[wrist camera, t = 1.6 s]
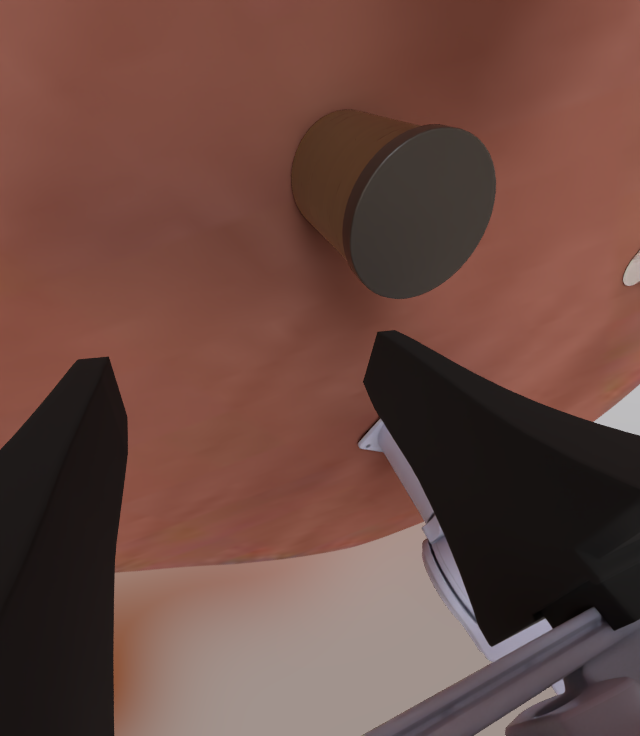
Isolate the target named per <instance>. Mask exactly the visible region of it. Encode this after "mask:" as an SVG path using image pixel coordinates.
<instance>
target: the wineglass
mask: <svg viewBox="0 0 640 736" xmlns="http://www.w3.org/2000/svg"><path fill="white" fill-rule="evenodd" d="M623 282H624V284H625V285H628V286H631V285H635V284H637V283H639V282H640V251H639V252H638V253H637V254H636V256H635V257H634V258H633V259H632V261H631V262H630V264H629V265H628V267H627V269H626V271H625V274H624V278H623Z"/></svg>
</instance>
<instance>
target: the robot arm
mask: <svg viewBox="0 0 640 736" xmlns="http://www.w3.org/2000/svg"><path fill="white" fill-rule="evenodd" d="M363 383H364V385H365V388H366V390H367V392H368V395H369V397H370V399H371V401H372V404H373V406H374V408H375V410H376V412H377V413H378V415H379V417H380V419H379V420H378V421H377V423H376V424H375V425H374V426H373V427H372V428H371V429H370V430H369V431H368V433H367V434H366V435H365V436H364V437H363V438H362V439H361V440H360V441H359V443H358V446H359V448H360V449H366V450H373V451H379V452H384V454H385V456H386V457H387V459H388V461H389V462H390V464H391V466H392V467H393V469H394V471H395V472H396V474H397V476H398V478H399V479H400V481H401V483H402V484H403V486H404V488H405V489H406V491H407V493H408V494H409V496H410V498H411V499H412V501H413V503H414V504H415V506H416V508H417V509H418V511H419V513H420V515H421V516H422V518H423V520H424V521H425V523H426V525H425V526H423V527H422V530H423V531H424V533H425V535H426V536H427V539H425V540H424V541H423V543H422V549H423V550H422V558H423V562H424V566H425V568H426V571H427V573H428V575H429V577H430V580H431V581H432V583H433V585H434V587H435V589H436V591H437V592H438V594H439V596H440V597H441V599H442V600H443V602H444V603H445V605H446V606H447V608H448V609H449V610H450V611H451V613H452V614H453V615H454V616H455V618H456V619H457V620H458V621H459V622H460V623H461V624H462V625H463V627H464V628H465V630H466V631H467V633H468V634H469V636H470V637H471V639H472V640H473V642H474V643H475V645H476V646H477V648H478V649H479V651H481V652H482V653H484V655H485V657H486V658H487V659H488V660H489V661H491V662H493V663H491V664H489V665H487V666H485V667H484V668H482V669H480V670H478V671H476V672H475V673H473V674H471V675H469V676H468V677H466V678H464V679H462V680H460V681H459V682H457V683H455V684H453V685H451V686H450V687H448V688H446V689H444V690H442V691H441V692H439V693H437V694H435V695H434V696H432V697H430V698H428V699H426V700H424V701H423V702H421V703H419V704H417V705H415V706H414V707H412V708H410V709H408V710H406V711H405V712H403V713H401V714H399V715H397V716H396V717H394V718H392V719H390V720H389V721H387V722H385V723H383V724H382V725H380V726H378V727H376V728H374V729H372V730H371V731H369V732H367V733H365V734H363V735H362V736H474V735H475V734H477V733H478V732H480V731H481V730H483V729H485V728H486V727H488V726H489V725H491V724H492V723H494V722H495V721H497V720H499V719H500V718H502V717H503V716H505V715H506V714H508V713H509V712H511V711H513V710H514V709H516V708H517V707H519V706H521V705H522V704H524V703H525V702H527V701H528V700H530V699H531V698H533V697H535V696H536V695H538V694H539V693H541V692H542V691H544V690H546V689H547V688H549V687H550V686H552V688H553V689H554V691H555V692H556V694H557V696H554V697H552V698H549V699H547V700H544V701H542V702H539V703H537V704H535V705H533V706H531V707H529V708H528V709H526V710H524V711H523V712H522V713H521V714H519V715H518V716H517V717H516V718H515V719H514V720H513V721H512V722H511V723H510V724H509V725H508V726H507V727H506V731H505V735H506V736H640V436H639V435H635V434H631V433H628V432H624V431H621V430H617V429H614V428H611V427H607V426H604V425H600V424H597V423H594V422H591V421H588V420H585V419H582V418H579V417H576V416H573V415H570V414H567V413H565V412H562V411H559V410H556V409H553V408H551V407H548V406H545V405H543V404H540V403H538V402H535V401H533V400H531V399H528V398H526V397H524V396H521V395H519V394H517V393H514V392H512V391H510V390H507V389H505V388H503V387H501V386H499V385H497V384H495V383H493V382H491V381H489V380H487V379H485V378H483V377H481V376H479V375H477V374H475V373H473V372H471V371H469V370H467V369H466V368H464V367H462V366H460V365H458V364H456V363H455V362H453V361H451V360H449V359H447V358H446V357H444V356H442V355H440V354H439V353H437V352H435V351H433V350H432V349H430V348H428V347H426V346H424V345H423V344H421V343H419V342H417V341H415V340H414V339H412V338H410V337H408V336H406V335H404V334H402V333H400V332H397V331H395V330H392V331H381V332H377V336H376V339H375V343H374V346H373V349H372V353H371V356H370V360H369V363H368V367H367V370H366V374H365V377H364V381H363ZM127 456H128V427H127V414H126V411H125V408H124V405H123V401H122V398H121V395H120V392H119V388H118V385H117V382H116V379H115V376H114V372H113V369H112V366H111V363H110V359H109V357H100V358H89V359H79V360H77V361H76V362H75V363H74V364H73V366H72V367H71V368H70V369H69V370H68V372H67V373H66V374H65V375H64V377H63V378H62V379H61V380H60V382H59V383H58V384H57V385H56V387H55V388H54V389H53V390H52V392H51V393H50V394H49V395H48V396H47V398H46V399H45V400H44V401H43V402H42V404H41V405H40V406H39V407H38V408H37V409H36V411H35V412H34V413H33V414H32V415H31V416H30V418H29V419H28V420H27V421H26V422H25V423H24V424H23V426H22V427H21V428H20V429H19V430H18V431H17V432H16V434H15V435H14V436H13V437H12V438H11V439H10V440H9V441H8V442H7V443H6V444H5V445H4V446H3V447H2V448H1V450H0V736H114V701H113V700H114V691H113V690H114V689H113V686H114V685H113V632H114V631H113V627H114V572H115V554H116V542H117V534H118V527H119V519H120V511H121V504H122V496H123V488H124V480H125V472H126V464H127Z"/></svg>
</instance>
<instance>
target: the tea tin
mask: <svg viewBox="0 0 640 736" xmlns="http://www.w3.org/2000/svg"><path fill="white" fill-rule="evenodd" d="M291 181H292V191H293V195H294V199H295V202H296V204H297V207H298V208H299V210H300V212H301V213H302V215H303V216H304V217H305V218H306V219H307V220H308V222H309V223H310V224H311V225H312V226H313V227H314V228H315V229H316V230H317V231H318V232H319V233H320V234H321V235H322V236H323V237H324V238H325V239H326V240H327V241H328V242H329V243H330V244H331V245H332V246H333V247H334V248H335V249H336V250H337V251H338V252H339V253H340V254H341V255H342V256H343V257H344V258H345V259H346V260H347V262H348V264H349V266H350V268H351V270H352V271H353V272H354V274H355V275H356V276H357V277H358V279H359V280H360V281H361V282H362V283H363V284H364V285H365V286H366V287H367V288H368V289H370V290H371V291H373V292H374V293H376V294H378V295H380V296H383V297H387V298H394V299H405V298H411V297H415V296H418V295H421V294H424V293H426V292H428V291H430V290H432V289H434V288H436V287H438V286H439V285H440V284H442V283H443V282H445V281H446V280H447V279H449V278H450V277H451V276H452V275H453V274H454V273H455V272H457V271H458V270H459V269H460V268H461V266H462V265H463V264H464V263H465V262H466V261H467V259H468V258H469V257H470V256H471V254H472V253H473V251H474V250H475V248H476V247H477V245H478V244H479V242H480V240H481V238H482V236H483V234H484V232H485V230H486V228H487V225H488V223H489V220H490V217H491V214H492V210H493V206H494V200H495V193H496V177H495V170H494V165H493V161H492V159H491V156H490V154H489V152H488V150H487V149H486V147H485V146H484V144H483V143H482V142H481V141H480V140H479V139H478V138H477V137H476V136H474V135H473V134H471V133H470V132H468V131H465V130H463V129H460V128H455V127H451V126H445V125H440V124H429V125H424V126H420V125H415V124H411V123H407V122H403V121H399V120H395V119H390V118H386V117H382V116H378V115H374V114H369V113H365V112H361V111H356V110H339V111H335V112H332V113H330V114H328V115H326V116H324V117H322V118H321V119H320V120H318V121H317V122H316V123H315V124H314V125H313V126H312V127H311V128H310V129H309V130H308V131H307V133H306V134H305V135H304V137H303V139H302V140H301V142H300V144H299V146H298V148H297V151H296V154H295V157H294V161H293V166H292V174H291Z"/></svg>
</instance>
